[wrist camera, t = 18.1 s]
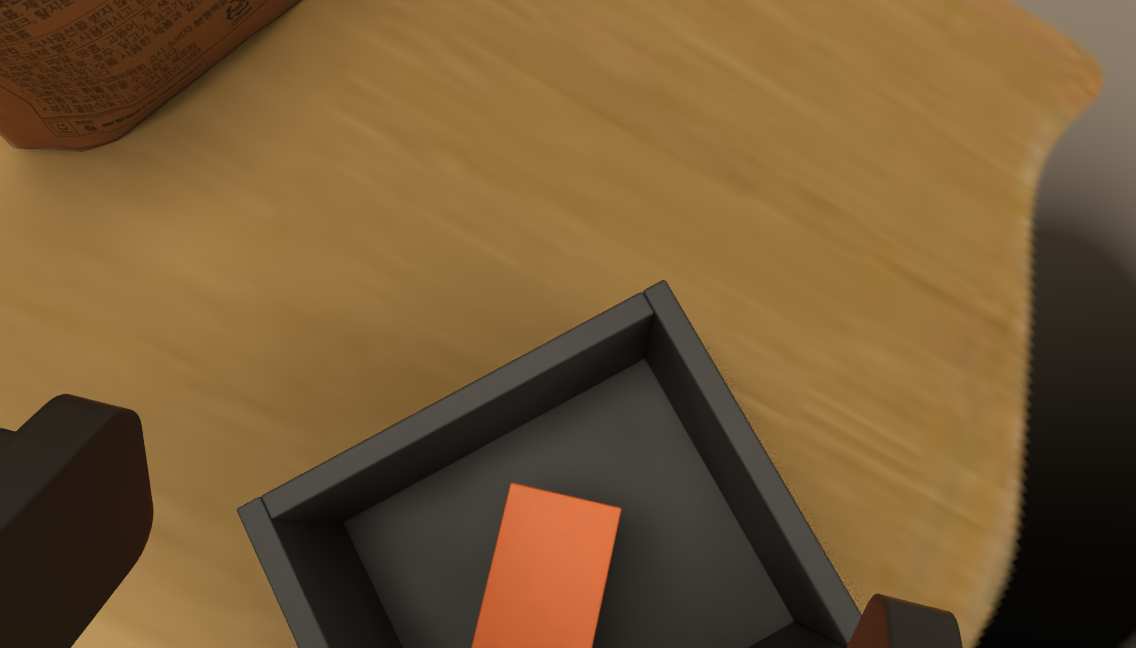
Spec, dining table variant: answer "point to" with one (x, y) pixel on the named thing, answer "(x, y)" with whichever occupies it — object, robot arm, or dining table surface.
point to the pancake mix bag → (109, 62)
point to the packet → (547, 571)
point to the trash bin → (571, 467)
